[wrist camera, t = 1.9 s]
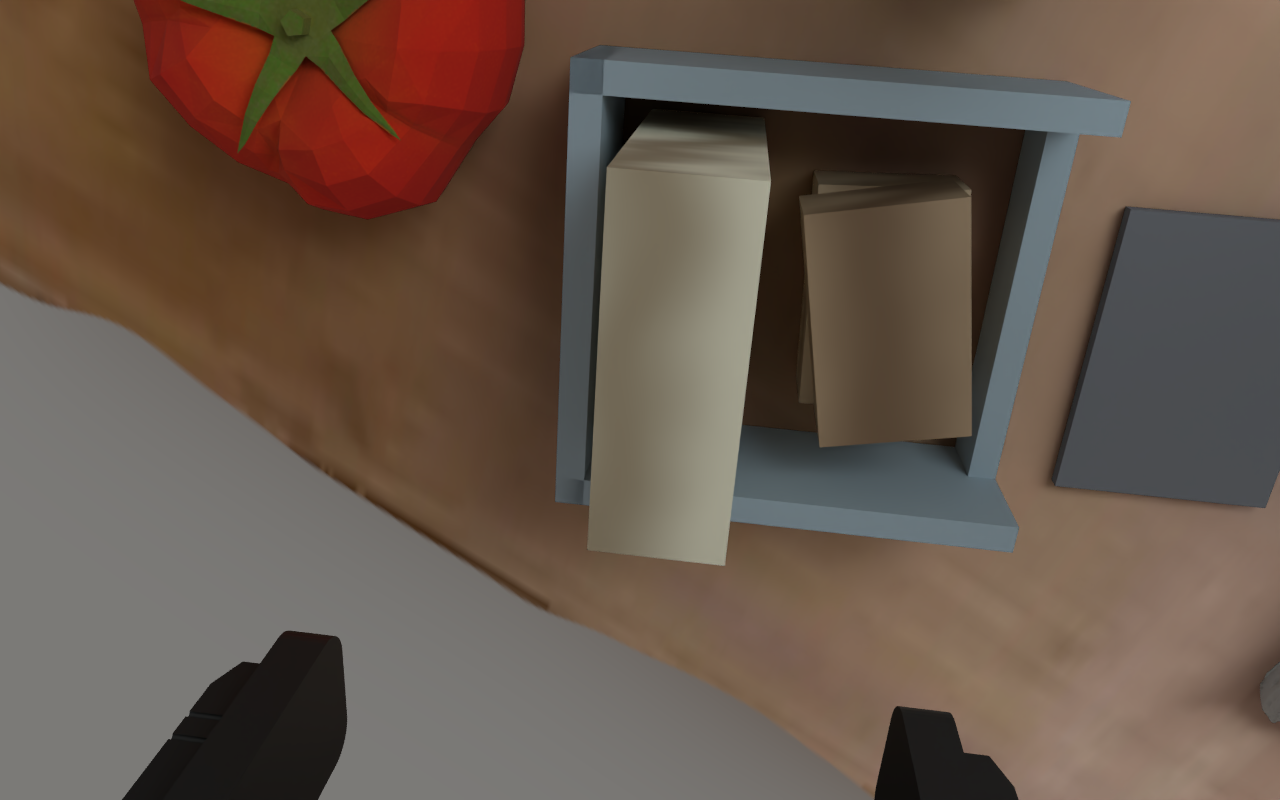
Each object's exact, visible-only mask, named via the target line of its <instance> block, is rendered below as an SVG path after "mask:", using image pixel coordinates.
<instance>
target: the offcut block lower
mask: <svg viewBox="0 0 1280 800" xmlns="http://www.w3.org/2000/svg"><path fill="white" fill-rule="evenodd" d="M946 179H953V180H954V181H955V182H956V183H957V184H958V185H959V186H960V187H961V188H962V189H963V190H964V191H966V192H967V193H968V194H969V195H970V196H971V189H970V188H969V187H968V186H967V185H966V184H965V183H963V182H962V181H961V180H960V179H959V178H958V177H957V176H956V175H928V174H899V173H871V172H843V171H814V174H813V186H812V194H821V193H830V192H839V191H848V190H857V189H866V188H875V187H884V186H892V185H901V184H910V183H919V182H928V181H937V180H946ZM796 382H797V390H798V399H799V403H808V404H814V402H813V388H812V373H811V359H810V345H809V331H808V316H807V302H806V288H805V277H804V288H803V300H802V311H801V322H800V334H799V345H798V356H797V368H796Z"/></svg>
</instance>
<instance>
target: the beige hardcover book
mask: <svg viewBox="0 0 1280 800" xmlns="http://www.w3.org/2000/svg"><path fill="white" fill-rule="evenodd" d="M770 186H771V177H770V167H769V157H768V148H767V138H766V129H765V119H764V118H760V117H748V116H736V115H723V114H711V113H699V112H687V111H674V110H662V109H652V110H651V111H650V113H649V114H648V115H647V116H646V118H645V119H644V120H643V122H642V123H641V124H640V125H639V127H638V128H637V129H636V130H635V132H634V133H633V134H632V136H631V137H630V138H629V139H628V141H627V142H626V143H625V145H624V146H623V147H622V148H621V150H620V151H619V152H618V154H617V155H616V156H615V157H614V159H613V160H612V161H611V163H610V164H609V165H608V166H607V174H606V193H605V213H604V232H603V252H602V271H601V291H600V310H599V330H598V349H597V369H596V388H595V408H594V427H593V447H592V466H591V485H590V505H589V524H588V544H587V550H590V551H599V552H608V553H617V554H625V555H634V556H643V557H652V558H660V559H669V560H678V561H686V562H695V563H704V564H713V565H721V566H725V560H726V551H727V543H728V535H729V526H730V518H731V510H732V501H733V493H734V485H735V477H736V468H737V460H738V452H739V443H740V435H741V427H742V418H743V410H744V402H745V393H746V385H747V377H748V369H749V360H750V352H751V344H752V335H753V327H754V319H755V310H756V302H757V294H758V285H759V277H760V269H761V261H762V252H763V244H764V236H765V227H766V219H767V211H768V202H769V194H770Z"/></svg>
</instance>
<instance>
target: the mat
mask: <svg viewBox="0 0 1280 800" xmlns="http://www.w3.org/2000/svg"><path fill="white" fill-rule="evenodd" d="M1279 471H1280V220H1278V219H1266V218H1255V217H1243V216H1231V215H1220V214H1208V213H1196V212H1185V211H1173V210H1161V209H1150V208H1138V207H1126V208H1125V211H1124V215H1123V219H1122V222H1121V226H1120V230H1119V234H1118V237H1117V241H1116V245H1115V248H1114V252H1113V256H1112V259H1111V263H1110V267H1109V270H1108V274H1107V278H1106V281H1105V285H1104V289H1103V292H1102V296H1101V300H1100V303H1099V307H1098V311H1097V315H1096V318H1095V322H1094V326H1093V329H1092V333H1091V337H1090V340H1089V344H1088V348H1087V351H1086V355H1085V359H1084V362H1083V366H1082V370H1081V373H1080V377H1079V381H1078V384H1077V388H1076V392H1075V395H1074V399H1073V403H1072V407H1071V410H1070V414H1069V418H1068V421H1067V425H1066V429H1065V432H1064V436H1063V440H1062V443H1061V447H1060V451H1059V454H1058V458H1057V462H1056V465H1055V469H1054V473H1053V476H1052V481H1053V483H1054V485H1055V486H1061V487H1071V488H1080V489H1089V490H1099V491H1108V492H1118V493H1127V494H1137V495H1146V496H1156V497H1165V498H1174V499H1184V500H1193V501H1203V502H1212V503H1222V504H1231V505H1240V506H1250V507H1259V508H1265V507H1266V505H1267V502H1268V500H1269V497H1270V494H1271V492H1272V489H1273V486H1274V484H1275V481H1276V478H1277V476H1278V473H1279Z"/></svg>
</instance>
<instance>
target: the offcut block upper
mask: <svg viewBox="0 0 1280 800" xmlns="http://www.w3.org/2000/svg"><path fill="white" fill-rule="evenodd" d="M799 202H800V217H801V231H802V245H803V259H804V274H805V288H806V302H807V316H808V331H809V345H810V359H811V373H812V388H813V402H814V414H815V420H816V427H817V433H818V440H819V447H833V446H846V445H860V444H873V443H887V442H901V441H914V440H928V439H941V438H955V437H968V436H972V298H971V196H970V195H969V194H968V193H967V192H966V191H964V190H963V189H962V188H961V187H960V186H959V185H958V184H957V183H956V182H955V181H954V180H953V179H946V180H937V181H928V182H919V183H910V184H901V185H892V186H884V187H875V188H866V189H857V190H848V191H839V192H830V193H821V194H812V195H803V196H799Z"/></svg>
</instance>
